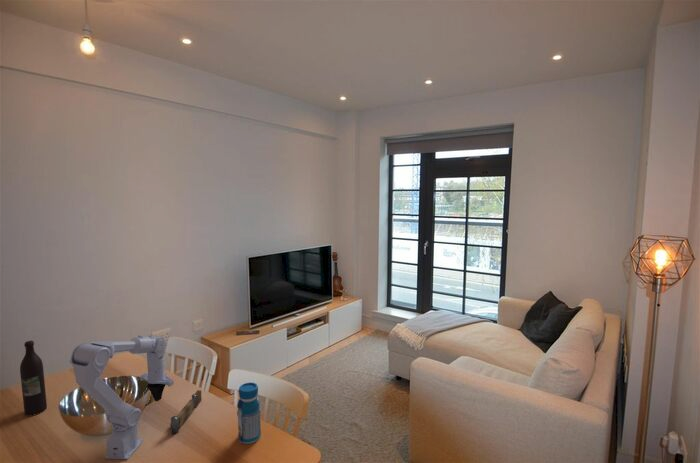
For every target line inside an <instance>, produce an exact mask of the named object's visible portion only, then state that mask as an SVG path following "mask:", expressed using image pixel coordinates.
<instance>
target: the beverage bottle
mask: <svg viewBox="0 0 700 463" xmlns="http://www.w3.org/2000/svg"><path fill="white" fill-rule="evenodd" d="M258 394H259V386H258V384H257V383H255V382H245V383H242V384H241V385H240V386H239V388H238V396H239V399H238V401H237V406H236V407H237V410H236V411H237V412H236V415H237V425H238V434H237V435H238V436H237V438H238V441H239V442H240V443H242V444H245V445H249V444H253V443H255V442H257V441H259V439H260V438H261V436H262V431H261V412H262V410H261V400H260V398H259V397H258Z"/></svg>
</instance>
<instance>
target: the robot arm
mask: <svg viewBox="0 0 700 463" xmlns="http://www.w3.org/2000/svg"><path fill="white" fill-rule="evenodd" d="M167 346H168V341H167V342H166V339H165V338H164V337H161V336H160V337H159V336H154V335H147V336H144V335H137V336H135V337H132V338H131V339H130V340H128V341H127V340H121V341H120V340H119V341H118V340H111V341H110V340H108V341H107V340H105V341H92V342H90V343H86V342H82V343H80V344H78V345H77V346H75V347H74V349H73V350H72V353H71V356H70V359H69V363H70V364H71V365H72V367H73V372H74V377H75V378H74V379H75V383H76V384H77V385H78V386H79V387H80V388H81V389H82V390H83V391H84V392H85V393H86V394H88V396H89V397H91V398H92V400H94V402H96V403H97V404H98V405H99V406H100V407H101V408H102V409H104V412H103V414H104V415H105V417H106V421H107V422H108V423H110V424H111V427H112V431H111V434H110V435H109V437H108V438H107V439H106V453H107V454H106V456H105V457H104V459H107V460H109V459H110V460H111V459H112V460H128V459H129V458H130V457H131V456H132V455H133V454H134V452H135V451H136V450H137V449H138V448H139V447H140V446H141V444H142V443H143V442H144V439H143V438H142V439H141V438H139V436H138V424H139V421H140V420H141V417H142V411H141V408H138V407H134V406H133V405H131V404H129V403H127V402H125V400H123V399H122V397H120V396H119V395H118V394H117V393H116V392H115V391H114V390H113V389H112V388H111V387H110V386H109V384H107V382H106V381H104V380H103V379H102V378H101V377H102V375H103V372H104V371H105V369H106V367H107V365H108V363H109V361H110V359H113V357H114V355H115V354H114V353H123V352H129V353H130V354H132V355H135V354H136V355H137V354H146V361H147V362H146V363H147V364H146V365H147V373H143V374H141V375H140V377H139V379H140V380H141V381H143V380H146V381H147V382H148V383H149V384H148V385H147V388H148V389H149V390H150V391H151V393H152V395H153V399H154V400H153V402H159V401H161V399H162V396H163V393H164V390H165V387H166V386H167V387H169V388H170V387H172V386H174V379H172V378H171V377H169V376H167V373H166V372H165V370H166V369H165V354H166V348H167Z"/></svg>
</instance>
